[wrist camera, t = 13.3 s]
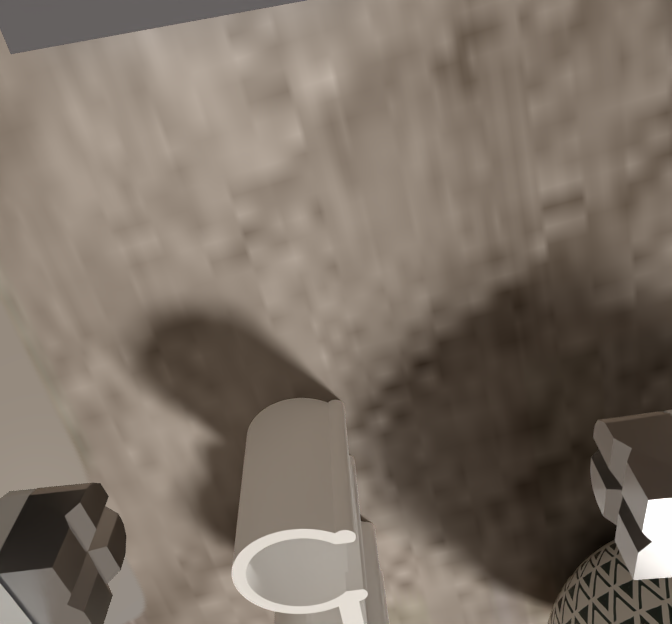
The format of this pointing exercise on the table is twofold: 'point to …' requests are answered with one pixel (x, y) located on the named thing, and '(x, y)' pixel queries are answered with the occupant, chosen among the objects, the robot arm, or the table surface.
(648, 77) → the table surface
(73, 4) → the scale
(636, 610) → the planter
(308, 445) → the c-shaped pipe clip
